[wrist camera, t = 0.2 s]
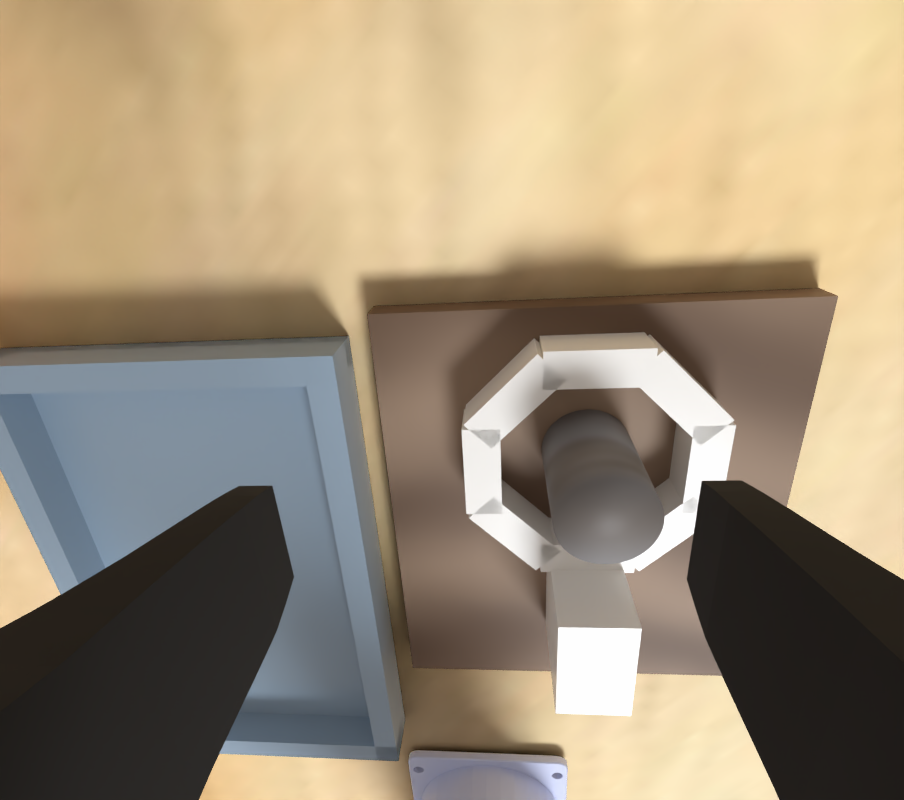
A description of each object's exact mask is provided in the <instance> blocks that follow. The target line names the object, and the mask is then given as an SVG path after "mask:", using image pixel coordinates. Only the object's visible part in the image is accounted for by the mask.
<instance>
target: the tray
mask: <svg viewBox="0 0 904 800" xmlns="http://www.w3.org/2000/svg"><path fill="white" fill-rule="evenodd" d="M0 470H1V472H2V474H3V476H4V478H5V480H6V482H7V484H8V486H9V488H10V490H11V493H12V495H13V497H14V499H15V501H16V503H17V505H18V507H19V509H20V511H21V513H22V515H23V517H24V519H25V521H26V524H27V526H28V528H29V530H30V532H31V534H32V536H33V538H34V540H35V542H36V544H37V546H38V548H39V550H40V552H41V555H42V557H43V559H44V561H45V563H46V565H47V567H48V569H49V571H50V573H51V575H52V577H53V579H54V581H55V583H56V586H57V588H58V590H59V592H60V594H63V593H65V592H66V591H68V590H70V589H71V588H73V587H75V586H76V585H78V584H80V583H81V582H83V581H85V580H86V579H88V578H90V577H91V576H93V575H95V574H96V573H98V572H100V571H101V570H103V569H105V568H106V567H108V566H110V565H111V564H113V563H115V562H116V561H118V560H120V559H121V558H123V557H125V556H126V555H128V554H129V553H131V552H133V551H134V550H136V549H137V548H139V547H140V546H142V545H144V544H145V543H147V542H148V541H150V540H151V539H153V538H155V537H156V536H158V535H159V534H161V533H162V532H164V531H166V530H167V529H169V528H170V527H172V526H173V525H175V524H177V523H178V522H180V521H181V520H183V519H184V518H186V517H187V516H189V515H191V514H192V513H194V512H195V511H197V510H198V509H200V508H202V507H203V506H205V505H206V504H208V503H210V502H211V501H213V500H215V499H216V498H218V497H220V496H221V495H223V494H225V493H227V492H228V491H230V490H232V489H234V488H236V487H238V486H273V490H274V494H275V499H276V503H277V507H278V511H279V515H280V520H281V524H282V528H283V532H284V536H285V540H286V545H287V549H288V553H289V557H290V561H291V566H292V570H293V574H294V579H293V582H292V586H291V589H290V592H289V595H288V599H287V602H286V605H285V608H284V611H283V614H282V617H281V620H280V623H279V626H278V629H277V632H276V634H275V636H274V638H273V641H272V643H271V645H270V647H269V649H268V652H267V654H266V656H265V658H264V660H263V662H262V664H261V667H260V669H259V671H258V673H257V675H256V677H255V679H254V682H253V684H252V686H251V688H250V690H249V692H248V694H247V696H246V698H245V700H244V703H243V705H242V707H241V709H240V711H239V713H238V715H237V717H236V719H235V721H234V724H233V726H232V728H231V730H230V732H229V734H228V736H227V738H226V740H225V743H224V745H223V747H222V749H221V751H220V753H219V754H242V755H266V756H289V757H313V758H337V759H360V760H384V761H399V754H400V748H401V742H402V736H403V730H404V724H405V715H404V709H403V702H402V695H401V688H400V681H399V674H398V668H397V661H396V654H395V647H394V640H393V634H392V627H391V620H390V613H389V606H388V600H387V593H386V586H385V579H384V572H383V565H382V559H381V552H380V545H379V538H378V531H377V525H376V518H375V511H374V504H373V497H372V491H371V484H370V477H369V470H368V463H367V456H366V450H365V443H364V436H363V429H362V422H361V416H360V409H359V402H358V395H357V388H356V382H355V375H354V368H353V361H352V354H351V347H350V341H349V336H333V337H305V338H276V339H247V340H219V341H190V342H162V343H133V344H104V345H76V346H47V347H18V348H1V349H0Z"/></svg>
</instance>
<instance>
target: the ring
mask: <svg viewBox="0 0 904 800" xmlns="http://www.w3.org/2000/svg"><path fill="white" fill-rule="evenodd" d="M603 388H641V389H642V390H643V391H644V392H645V393H646V394H647V395H648V396H649V397H650V398H651V399H652V400H653V401H654V402H655V403H657V404H658V405H659V406H660V407H661V408H662V409H663V410H664V411H665V412H666V413H667V414H668V415H669V416H670V417H671V418H672V419H673V420H674V421H676V429H675V437H674V445H673V453H672V460H671V468H670V476H669V478H668V479H667V480H665V481H664V482H663V483H661V484H660V485H659V486H657V487H656V488H655V490H656V492H657V494H658V497H659V499H660V501H661V503H662V505H663V509H664V515H665V518H664V525H663V529H662V532H661V534H660V536H659V537H658V539H657V540H656V542H655V543H654V544H653V545H652V546H651V547H650V548H649V549H648V550H647V551H645V552H644V553H642V554H641V555H639V556H637V557H635V558H633V559H631V560H628V561H625V562H621V563H615V564H595V563H590V562H586V561H583V560H580V559H578V558H576V557H574V556H572V555H571V554H569V553H568V552H567V551H566V550H565V549H564V548H563V547H562V546H561V545H560V544H559V542H558V540H557V539H556V537H555V534H554V530H553V525H552V519H551V518H548V517H547V516H546V515H545V514H544V513H542V512H541V511H540V510H539V509H537V508H536V507H535V506H534V505H533V504H531V503H530V502H529V501H528V500H526V499H525V498H524V497H523V496H522V495H520V494H519V493H518V492H517V491H515V490H514V489H513V488H512V487H511V486H509V485H508V484H507V483H506V482H504V481H503V480H502V478H501V440H502V439H503V438H504V437H505V436H506V435H507V434H508V433H509V432H510V431H511V430H513V429H514V428H515V427H516V426H517V425H518V424H519V423H520V422H521V421H522V420H524V419H525V418H526V417H527V416H528V415H529V414H530V413H531V412H532V411H534V410H535V409H536V408H537V407H538V406H539V405H540V404H541V403H542V402H543V401H545V400H546V399H547V398H548V397H549V396H550V395H551V394H552V393H553V392H554V391H556V390H562V389H603ZM733 421H734V419H733V418H732V417H731V416H730V415H729V413H728V412H727V411H726V410H725V409H724V408H723V407H722V406H721V405H720V403H719V402H718V401H717V400H716V399H715V398H714V397H713V396H712V395H711V394H710V393H709V392H708V391H707V390H706V389H705V388H704V387H703V386H702V385H701V384H700V383H699V382H698V381H697V380H696V379H695V378H694V377H693V376H692V375H691V374H690V373H689V372H688V371H687V370H686V369H685V368H684V367H683V366H682V365H681V364H680V363H679V362H678V361H677V360H676V359H675V358H673V357H672V356H671V355H670V354H669V353H668V352H667V351H666V350H665V349H664V348H663V347H662V346H661V345H660V344H659V343H658V342H657V341H656V340H655V339H654V338H653V337H652V336H651V335H648V336H647V335H646V333H645V332H637V333H607V334H577V335H548V336H540V340H539V342H538V341H537V340H536V339H535V338H534V339H533V340H532V341H531V342H530V343H529V344H528V345H527V346H525V347H524V348H523V349H522V350H521V351H520V352H519V353H518V354H517V355H516V356H515V357H514V358H513V359H512V360H511V361H510V362H509V363H508V364H507V365H506V366H505V367H504V368H503V369H502V370H501V371H500V372H499V373H498V374H497V375H496V376H495V377H494V378H493V379H492V380H491V381H490V382H489V383H488V384H487V385H486V386H485V387H484V388H482V389H481V390H480V391H479V392H478V393H477V394H476V395H475V396H474V397H473V398H472V399H471V400H470V401H469V402H468V403H467V404H466V408H465V409H464V414H463V422H462V429H461V431H462V448H463V465H464V482H465V499H466V514H469V519H471V520H472V521H473V522H474V523H476V524H477V525H478V526H479V527H481V528H482V529H483V530H485V531H486V532H487V533H488V534H490V535H491V536H492V537H494V538H495V539H496V540H497V541H499V542H500V543H501V544H503V545H504V546H505V547H506V548H508V549H509V550H510V551H512V552H513V553H514V554H515V555H517V556H518V557H519V558H521V559H522V560H523V561H524V562H526V563H527V564H528V565H530V566H531V567H532V568H533V569H535V570H537V569H538V568H540V570H541V572H547V575H546V628H547V637H548V646H549V656H550V665H551V675H552V684H553V694H554V703H555V713H558V714H588V715H619V716H631V714H632V706H633V697H634V689H635V681H636V673H637V664H638V656H639V648H640V640H641V631H642V628H641V625H640V621H639V618H638V615H637V611H636V608H635V605H634V602H633V598H632V595H631V592H630V589H629V585H628V582H627V579H626V576H625V573H634V568H636V569H637V570H638V571H640V570H642V569H643V568H645V567H646V566H648V565H649V564H650V563H652V562H653V561H655V560H656V559H658V558H659V557H661V556H662V555H664V554H665V553H666V552H668V551H669V550H671V549H672V548H674V547H675V546H677V545H678V544H680V543H681V542H682V541H684V540H685V539H687V538H688V537H690V536H691V535H693V534H694V528H695V521H696V515H697V508H698V501H699V495H700V488H701V482H702V481H725V480H726V478H727V473H728V467H729V462H730V456H731V451H732V446H733V440H734V435H735V429H736V425H735V423H734V422H733Z"/></svg>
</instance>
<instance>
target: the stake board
mask: <svg viewBox="0 0 904 800" xmlns="http://www.w3.org/2000/svg"><path fill="white" fill-rule="evenodd" d="M837 299H838V296H837V295H834V294H832V293H829V292H827V291H825V290H822V289H820V288H815V289H790V290H765V291H740V292H715V293H690V294H665V295H640V296H615V297H591V298H566V299H541V300H516V301H491V302H466V303H441V304H416V305H391V306H374V307H373V308H372V309H371V310H370V312H369V313H368V314H367V316H368V324H369V332H370V339H371V347H372V355H373V363H374V370H375V378H376V386H377V394H378V401H379V409H380V417H381V424H382V432H383V440H384V448H385V455H386V463H387V471H388V478H389V486H390V494H391V502H392V509H393V517H394V525H395V533H396V540H397V548H398V556H399V563H400V571H401V579H402V587H403V594H404V602H405V610H406V618H407V625H408V633H409V641H410V648H411V656H412V664H413V668H443V669H482V670H521V671H551V665H550V656H549V646H548V637H547V628H546V575H547V572H541V570H540V568H538V569H537V570H535V569H533V568H532V567H531V566H530V565H528V564H527V563H526V562H524V561H523V560H522V559H521V558H519V557H518V556H517V555H515V554H514V553H513V552H512V551H510V550H509V549H508V548H506V547H505V546H504V545H503V544H501V543H500V542H499V541H497V540H496V539H495V538H494V537H492V536H491V535H490V534H488V533H487V532H486V531H485V530H483V529H482V528H481V527H479V526H478V525H477V524H476V523H474V522H473V521H472V520H471V519H469V514H466V499H465V482H464V465H463V448H462V431H461V429H462V422H463V414H464V409H465V408H466V404H467V403H468V402H469V401H470V400H471V399H472V398H473V397H474V396H475V395H476V394H477V393H478V392H479V391H480V390H481V389H482V388H484V387H485V386H486V385H487V384H488V383H489V382H490V381H491V380H492V379H493V378H494V377H495V376H496V375H497V374H498V373H499V372H500V371H501V370H502V369H503V368H504V367H505V366H506V365H507V364H508V363H509V362H510V361H511V360H512V359H513V358H514V357H515V356H516V355H517V354H518V353H519V352H520V351H521V350H522V349H523V348H524V347H525V346H527V345H528V344H529V343H530V342H531V341H532V340H533V339H534V338H535V339H536V340H537V341H538V342H539V340H540V336H548V335H577V334H607V333H637V332H645V333H646V335H647V336H648V335H651V336H652V337H653V338H654V339H655V340H656V341H657V342H658V343H659V344H660V345H661V346H662V347H663V348H664V349H665V350H666V351H667V352H668V353H669V354H670V355H671V356H672V357H673V358H675V359H676V360H677V361H678V362H679V363H680V364H681V365H682V366H683V367H684V368H685V369H686V370H687V371H688V372H689V373H690V374H691V375H692V376H693V377H694V378H695V379H696V380H697V381H698V382H699V383H700V384H701V385H702V386H703V387H704V388H705V389H706V390H707V391H708V392H709V393H710V394H711V395H712V396H713V397H714V398H715V399H716V400H717V401H718V402H719V403H720V405H721V406H722V407H723V408H724V409H725V410H726V411H727V412H728V413H729V415H730V416H731V417H732V418H733V419H734V421H733V422H734V423H735V425H736V429H735V435H734V440H733V446H732V451H731V456H730V462H729V467H728V473H727V478H726V480H742V481H744V482H745V483H747V484H749V485H751V486H753V487H754V488H756V489H758V490H760V491H761V492H763V493H765V494H766V495H768V496H770V497H771V498H773V499H774V500H776V501H778V502H779V503H781V504H782V505H784V506H785V507H787V503H788V499H789V495H790V491H791V487H792V483H793V479H794V474H795V470H796V466H797V462H798V458H799V454H800V450H801V446H802V442H803V438H804V434H805V429H806V425H807V421H808V417H809V413H810V409H811V405H812V401H813V397H814V393H815V389H816V385H817V380H818V376H819V372H820V368H821V364H822V360H823V356H824V352H825V348H826V344H827V340H828V335H829V331H830V327H831V323H832V319H833V315H834V311H835V307H836V303H837ZM675 429H676V421H674V420H673V419H672V418H671V417H670V416H669V415H668V414H667V413H666V412H665V411H664V410H663V409H662V408H661V407H660V406H659V405H658V404H657V403H655V402H654V401H653V400H652V399H651V398H650V397H649V396H648V395H647V394H646V393H645V392H644V391H643V390H642V389H641V388H603V389H562V390H556V391H554V392H553V393H552V394H551V395H550V396H549V397H548V398H547V399H546V400H545V401H543V402H542V403H541V404H540V405H539V406H538V407H537V408H536V409H535V410H534V411H532V412H531V413H530V414H529V415H528V416H527V417H526V418H525V419H524V420H522V421H521V422H520V423H519V424H518V425H517V426H516V427H515V428H514V429H513V430H511V431H510V432H509V433H508V434H507V435H506V436H505V437H504V438H503V439H502V440H501V478H502V480H503V481H504V482H506V483H507V484H508V485H509V486H511V487H512V488H513V489H514V490H515V491H517V492H518V493H519V494H520V495H522V496H523V497H524V498H525V499H526V500H528V501H529V502H530V503H531V504H533V505H534V506H535V507H536V508H537V509H539V510H540V511H541V512H542V513H544V514H545V515H546V516H547V517H548V518H551V519H552V525H553V530H554V534H555V537H556V539H557V540H558V542H559V544H560V545H561V546H562V547H563V548H564V549H565V550H566V551H567V552H568V553H569V554H571V555H572V556H574V557H576V558H578V559H580V560H583V561H586V562H590V563H595V564H615V563H621V562H625V561H628V560H631V559H633V558H635V557H637V556H639V555H641V554H642V553H644V552H645V551H647V550H648V549H649V548H650V547H651V546H652V545H653V544H654V543H655V542H656V540H657V539H658V537H659V536H660V534H661V532H662V529H663V525H664V518H665V515H664V509H663V505H662V503H661V501H660V499H659V497H658V494H657V492H656V490H655V488H656V487H657V486H659V485H660V484H661V483H663V482H664V481H665V480H667V479H668V478H669V476H670V468H671V460H672V453H673V445H674V437H675ZM692 541H693V535H691V536H690V537H688V538H687V539H685V540H684V541H682V542H681V543H680V544H678V545H677V546H675V547H674V548H672V549H671V550H669V551H668V552H666V553H665V554H664V555H662V556H661V557H659V558H658V559H656V560H655V561H653V562H652V563H650V564H649V565H648V566H646V567H645V568H643V569H642V570H640V571H638V570H637V569H636V568H634V573H625V576H626V579H627V582H628V585H629V589H630V592H631V595H632V598H633V602H634V605H635V608H636V611H637V615H638V618H639V621H640V625H641V628H642V631H641V640H640V648H639V656H638V664H637V673H640V674H679V675H718V676H722V674H721V672H720V670H719V668H718V665H717V663H716V661H715V659H714V657H713V654H712V652H711V650H710V648H709V645H708V643H707V641H706V639H705V636H704V633H703V630H702V627H701V624H700V621H699V618H698V615H697V612H696V608H695V605H694V602H693V598H692V595H691V592H690V589H689V585H688V582H687V574H688V567H689V561H690V554H691V547H692Z"/></svg>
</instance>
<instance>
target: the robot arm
mask: <svg viewBox="0 0 904 800" xmlns="http://www.w3.org/2000/svg"><path fill="white" fill-rule="evenodd" d="M293 579H294V574H293V570H292V566H291V561H290V557H289V553H288V549H287V545H286V540H285V536H284V532H283V528H282V524H281V520H280V515H279V511H278V507H277V503H276V499H275V494H274V490H273V486H238V487H236V488H234V489H232V490H230V491H228V492H227V493H225V494H223V495H221V496H220V497H218V498H216V499H215V500H213V501H211V502H210V503H208V504H206V505H205V506H203V507H202V508H200V509H198V510H197V511H195V512H194V513H192V514H191V515H189V516H187V517H186V518H184V519H183V520H181V521H180V522H178V523H177V524H175V525H173V526H172V527H170V528H169V529H167V530H166V531H164V532H162V533H161V534H159V535H158V536H156V537H155V538H153V539H151V540H150V541H148V542H147V543H145V544H144V545H142V546H140V547H139V548H137V549H136V550H134V551H133V552H131V553H129V554H128V555H126V556H125V557H123V558H121V559H120V560H118V561H116V562H115V563H113V564H111V565H110V566H108V567H106V568H105V569H103V570H101V571H100V572H98V573H96V574H95V575H93V576H91V577H90V578H88V579H86V580H85V581H83V582H81V583H80V584H78V585H76V586H75V587H73V588H71V589H70V590H68V591H66V592H65V593H63V594H61V595H60V596H58V597H56V598H55V599H53V600H51V601H49V602H48V603H46V604H44V605H42V606H40V607H39V608H37V609H35V610H33V611H32V612H30V613H28V614H26V615H24V616H22V617H21V618H19V619H17V620H15V621H13V622H11V623H9V624H8V625H6V626H4V627H2V628H0V800H199V798H200V796H201V793H202V791H203V789H204V786H205V784H206V782H207V779H208V777H209V775H210V772H211V770H212V768H213V766H214V764H215V761H216V759H217V757H218V755H219V753H220V751H221V749H222V747H223V745H224V743H225V740H226V738H227V736H228V734H229V732H230V730H231V728H232V726H233V724H234V721H235V719H236V717H237V715H238V713H239V711H240V709H241V707H242V705H243V703H244V700H245V698H246V696H247V694H248V692H249V690H250V688H251V686H252V684H253V682H254V679H255V677H256V675H257V673H258V671H259V669H260V667H261V664H262V662H263V660H264V658H265V656H266V654H267V652H268V649H269V647H270V645H271V643H272V641H273V638H274V636H275V634H276V632H277V629H278V626H279V623H280V620H281V617H282V614H283V611H284V608H285V605H286V602H287V599H288V595H289V592H290V589H291V586H292V582H293ZM687 582H688V585H689V589H690V592H691V595H692V598H693V602H694V605H695V608H696V612H697V615H698V618H699V621H700V624H701V627H702V630H703V633H704V636H705V639H706V641H707V643H708V645H709V648H710V650H711V652H712V654H713V657H714V659H715V661H716V663H717V665H718V668H719V670H720V672H721V674H722V676H723V679H724V681H725V683H726V685H727V687H728V689H729V692H730V694H731V696H732V698H733V700H734V702H735V704H736V707H737V709H738V711H739V713H740V715H741V717H742V720H743V722H744V724H745V726H746V728H747V730H748V732H749V735H750V737H751V739H752V741H753V743H754V745H755V747H756V750H757V752H758V754H759V756H760V758H761V760H762V763H763V765H764V767H765V769H766V771H767V773H768V775H769V778H770V780H771V782H772V784H773V786H774V788H775V790H776V793H777V795H778V798H779V800H904V580H903V579H901V578H900V577H898V576H896V575H895V574H893V573H891V572H889V571H888V570H886V569H884V568H883V567H881V566H879V565H878V564H876V563H875V562H873V561H871V560H870V559H868V558H866V557H865V556H863V555H861V554H860V553H858V552H857V551H855V550H853V549H852V548H850V547H849V546H847V545H845V544H844V543H842V542H841V541H839V540H837V539H836V538H834V537H833V536H831V535H830V534H828V533H826V532H825V531H823V530H822V529H820V528H818V527H817V526H815V525H814V524H812V523H811V522H809V521H807V520H806V519H804V518H803V517H801V516H800V515H798V514H796V513H795V512H793V511H792V510H790V509H789V508H787V507H785V506H784V505H782V504H781V503H779V502H778V501H776V500H774V499H773V498H771V497H770V496H768V495H766V494H765V493H763V492H761V491H760V490H758V489H756V488H754V487H753V486H751V485H749V484H747V483H745V482H744V481H742V480H725V481H702V482H701V488H700V495H699V501H698V508H697V515H696V521H695V528H694V534H693V541H692V547H691V554H690V561H689V567H688V574H687ZM408 764H409V771H410V778H411V784H412V791H413V798H414V800H566V792H567V772H568V768H567V761H566V760H565V759H564V758H563V757H561V756H551V755H526V754H501V753H476V752H451V751H426V750H415V751H412V752H411V753H410V754H409V760H408Z"/></svg>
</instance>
